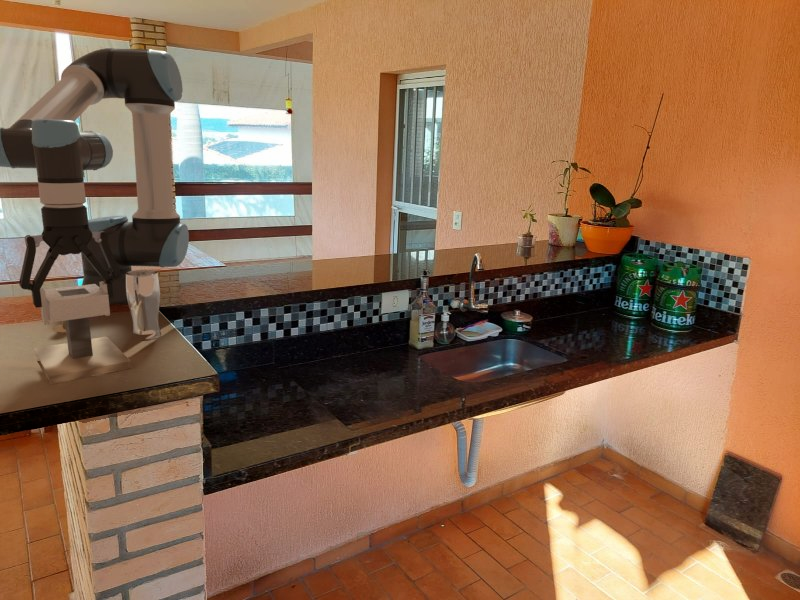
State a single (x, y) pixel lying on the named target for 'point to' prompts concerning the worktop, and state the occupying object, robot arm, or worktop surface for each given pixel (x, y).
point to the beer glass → (144, 302)
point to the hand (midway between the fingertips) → (76, 318)
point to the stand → (60, 327)
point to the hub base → (81, 365)
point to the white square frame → (76, 302)
